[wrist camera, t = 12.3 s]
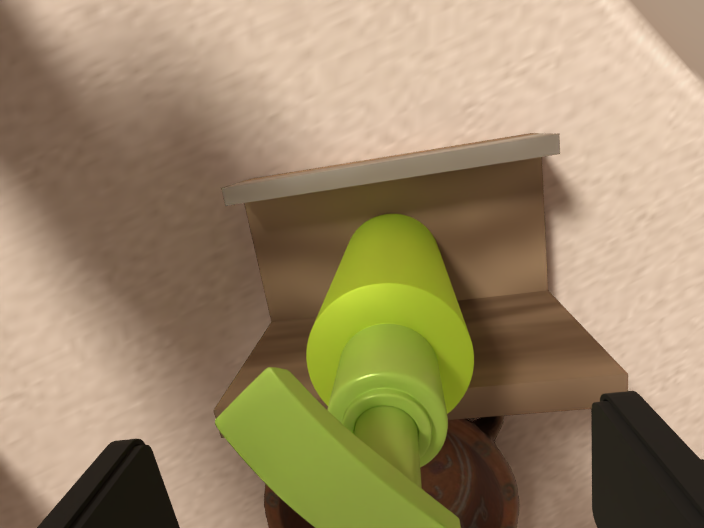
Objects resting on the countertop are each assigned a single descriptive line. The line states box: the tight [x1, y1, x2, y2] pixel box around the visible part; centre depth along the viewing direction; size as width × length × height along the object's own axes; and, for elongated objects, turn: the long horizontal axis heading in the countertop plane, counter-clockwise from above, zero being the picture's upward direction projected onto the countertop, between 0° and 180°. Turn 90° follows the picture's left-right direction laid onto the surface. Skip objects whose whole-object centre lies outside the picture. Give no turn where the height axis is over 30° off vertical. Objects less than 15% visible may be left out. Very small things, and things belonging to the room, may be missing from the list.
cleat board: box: [214, 133, 628, 438], centre depth 24 cm, size 11×18×12 cm, turn 99°
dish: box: [264, 416, 519, 528], centre depth 33 cm, size 18×22×5 cm
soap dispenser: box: [215, 214, 474, 528], centre depth 18 cm, size 6×7×20 cm
